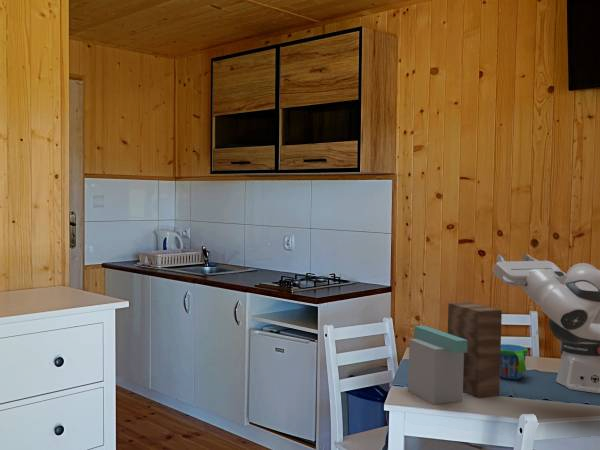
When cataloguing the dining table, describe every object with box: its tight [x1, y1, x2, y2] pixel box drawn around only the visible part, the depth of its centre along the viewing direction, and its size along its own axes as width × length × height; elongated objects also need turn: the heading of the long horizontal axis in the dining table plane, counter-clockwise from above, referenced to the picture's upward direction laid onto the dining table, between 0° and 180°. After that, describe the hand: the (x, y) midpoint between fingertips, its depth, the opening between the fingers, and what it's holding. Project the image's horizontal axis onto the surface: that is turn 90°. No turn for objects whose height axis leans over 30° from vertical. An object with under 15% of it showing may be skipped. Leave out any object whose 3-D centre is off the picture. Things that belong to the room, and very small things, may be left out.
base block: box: [407, 338, 464, 405], centre depth 190 cm, size 14×10×16 cm
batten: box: [413, 325, 468, 353], centre depth 188 cm, size 22×4×4 cm, turn 22°
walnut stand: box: [447, 301, 503, 399], centre depth 197 cm, size 16×8×26 cm, turn 21°
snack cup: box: [500, 343, 529, 381], centre depth 212 cm, size 16×10×10 cm
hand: (511, 256), depth 189 cm, fingers open, 8 cm apart
